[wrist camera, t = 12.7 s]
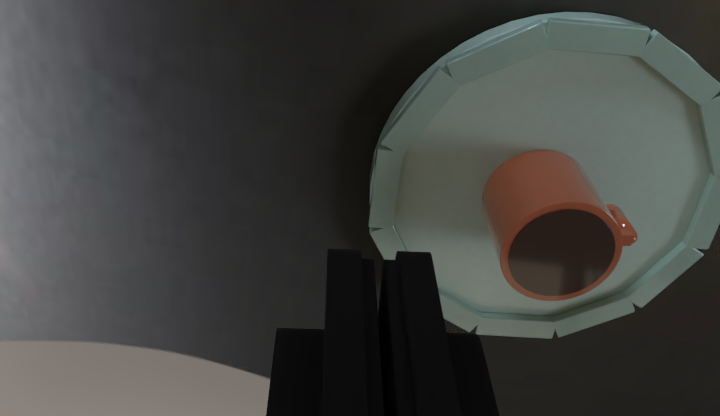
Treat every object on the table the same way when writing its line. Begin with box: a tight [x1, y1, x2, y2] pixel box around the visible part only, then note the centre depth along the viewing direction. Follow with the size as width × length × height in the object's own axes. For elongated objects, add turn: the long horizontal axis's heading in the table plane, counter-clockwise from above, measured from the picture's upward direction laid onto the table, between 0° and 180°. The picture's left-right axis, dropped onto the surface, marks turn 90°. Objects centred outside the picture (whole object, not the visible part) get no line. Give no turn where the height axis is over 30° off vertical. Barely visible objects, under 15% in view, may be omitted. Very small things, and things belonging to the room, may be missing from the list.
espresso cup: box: [481, 150, 638, 301], centre depth 36 cm, size 7×6×6 cm
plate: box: [368, 12, 720, 339], centre depth 39 cm, size 20×20×2 cm
